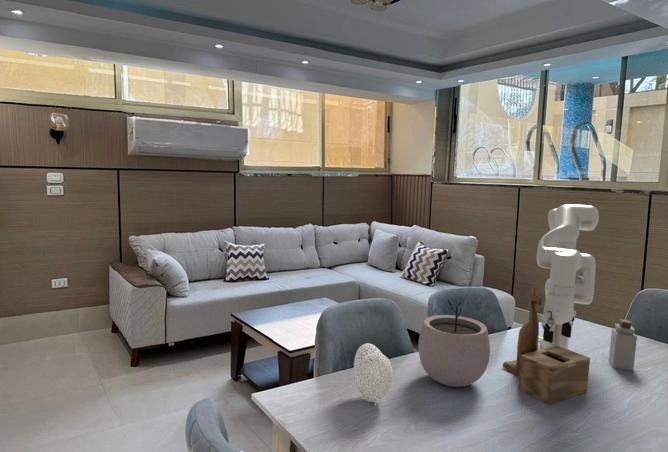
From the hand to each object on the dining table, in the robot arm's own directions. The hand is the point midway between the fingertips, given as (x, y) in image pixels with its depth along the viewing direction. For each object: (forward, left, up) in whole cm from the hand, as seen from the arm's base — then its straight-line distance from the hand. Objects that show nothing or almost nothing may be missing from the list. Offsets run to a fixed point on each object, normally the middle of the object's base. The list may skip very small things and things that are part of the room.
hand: (556, 338), depth 151 cm
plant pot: (-20, -27, -18) cm, 38 cm away
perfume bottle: (-1, +44, -18) cm, 47 cm away
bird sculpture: (-14, +4, -18) cm, 23 cm away
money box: (0, 0, -18) cm, 18 cm away
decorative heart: (-21, -60, -18) cm, 66 cm away
